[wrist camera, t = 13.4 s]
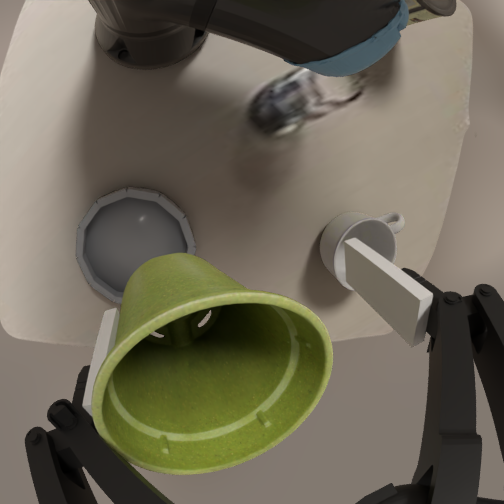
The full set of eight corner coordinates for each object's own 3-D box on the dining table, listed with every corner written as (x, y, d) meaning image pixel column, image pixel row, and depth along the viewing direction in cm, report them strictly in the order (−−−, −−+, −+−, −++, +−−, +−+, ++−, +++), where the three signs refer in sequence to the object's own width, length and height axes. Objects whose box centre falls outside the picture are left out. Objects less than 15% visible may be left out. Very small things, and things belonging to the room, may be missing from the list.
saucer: (63, 212, 34) (58, 217, 32) (171, 169, 36) (171, 172, 34) (109, 310, 41) (107, 318, 39) (207, 276, 43) (210, 284, 41)
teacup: (322, 280, 49) (346, 305, 42) (300, 224, 44) (325, 243, 37) (387, 240, 49) (416, 258, 42) (373, 185, 45) (406, 196, 37)
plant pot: (68, 328, 15) (60, 451, 7) (149, 186, 14) (187, 234, 7) (194, 378, 20) (244, 478, 12) (274, 270, 19) (368, 345, 12)
